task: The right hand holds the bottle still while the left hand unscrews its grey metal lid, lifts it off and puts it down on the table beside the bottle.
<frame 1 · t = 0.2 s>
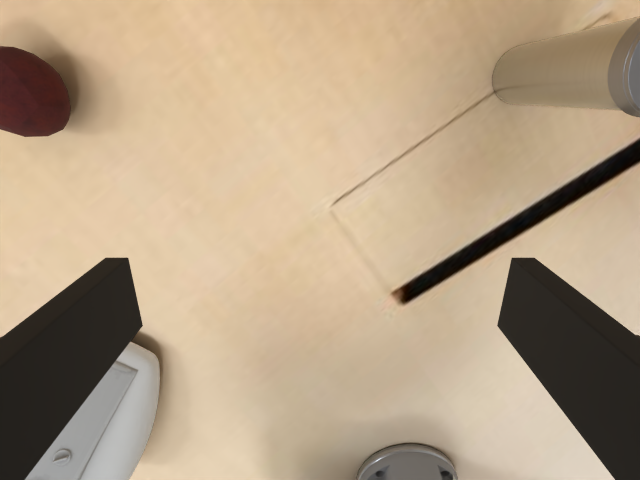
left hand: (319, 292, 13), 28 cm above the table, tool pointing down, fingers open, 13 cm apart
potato: (49, 95, 36), on the table
bottle: (519, 75, 36), on the table
projector: (106, 393, 51), on the table
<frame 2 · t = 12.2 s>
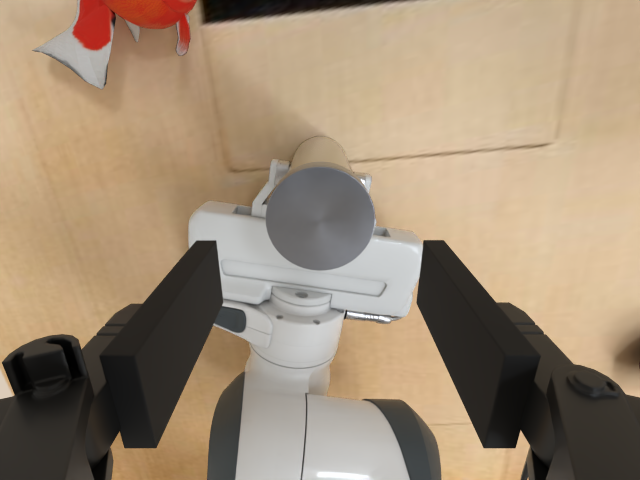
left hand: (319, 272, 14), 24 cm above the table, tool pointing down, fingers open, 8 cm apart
right hand: (321, 167, 30), fingers closed on bottle, 5 cm apart
fish: (137, 22, 32), on the table
bottle: (320, 163, 36), on the table, touching right hand
lid: (320, 219, 20), point 17 cm above the table, screwed on, not yet turned
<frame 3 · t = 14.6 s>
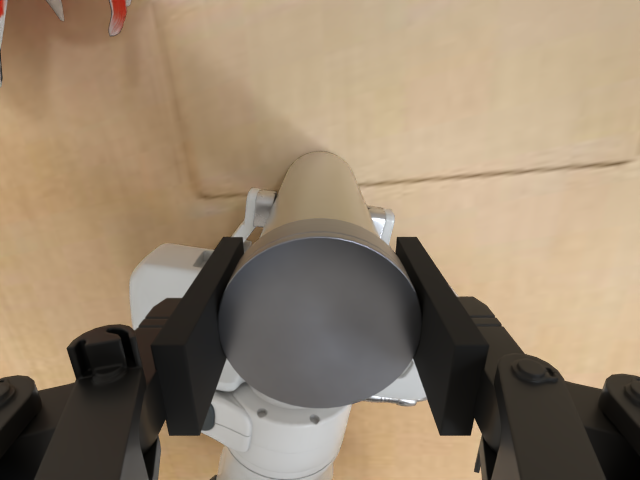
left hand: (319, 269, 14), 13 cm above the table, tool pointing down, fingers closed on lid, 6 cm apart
bottle: (319, 187, 27), on the table, touching right hand
lid: (319, 324, 11), point 17 cm above the table, screwed on, not yet turned, touching left hand
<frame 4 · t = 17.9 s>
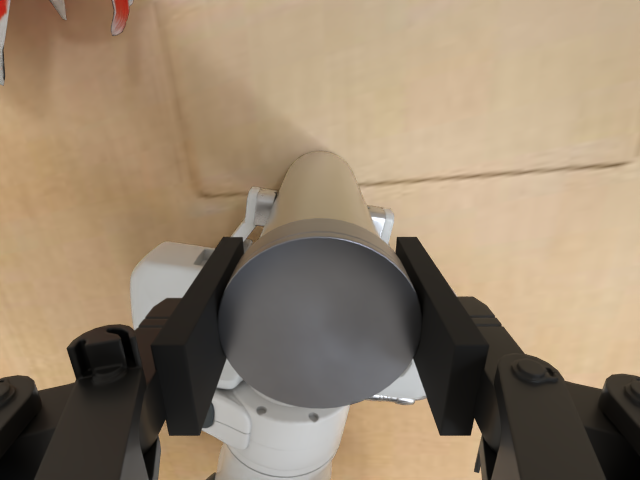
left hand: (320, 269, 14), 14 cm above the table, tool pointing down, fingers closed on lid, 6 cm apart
bottle: (319, 187, 27), on the table, touching right hand
lid: (319, 324, 11), point 17 cm above the table, turned 103° so far, risen 0.2 cm, still on its thread, touching left hand
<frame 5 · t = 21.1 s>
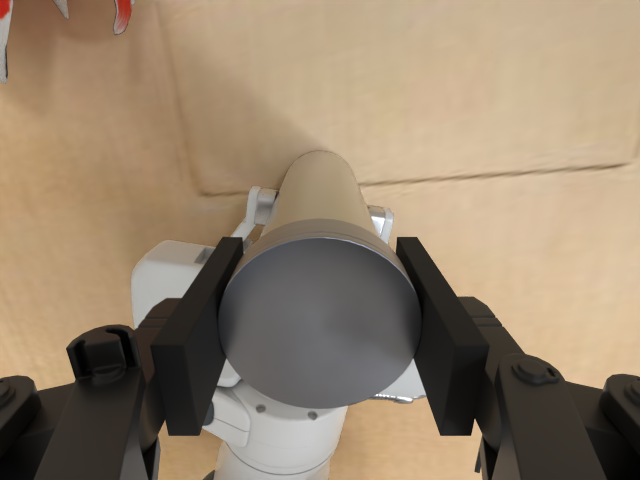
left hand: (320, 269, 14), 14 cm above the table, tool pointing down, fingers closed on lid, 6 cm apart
bottle: (319, 187, 27), on the table, touching right hand
lid: (319, 325, 11), point 18 cm above the table, turned 205° so far, risen 0.3 cm, still on its thread, touching left hand
when the left hand's fingers open (0 cm above the table, at t = 35.4 s): lid drops 3 cm, point 1 cm above the table.
when the right hand's fingers open (7 cm above the table, at t = 36.1 s): bottle stays where it is, on the table.
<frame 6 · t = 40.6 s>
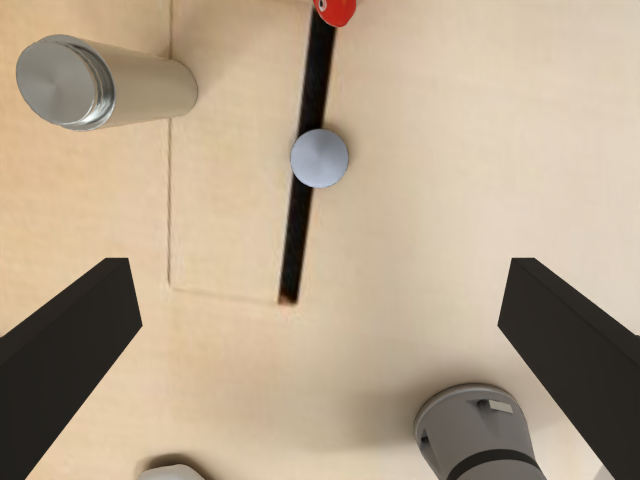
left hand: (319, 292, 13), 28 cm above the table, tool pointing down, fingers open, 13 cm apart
bottle: (170, 88, 36), on the table
lid: (319, 158, 38), point 1 cm above the table, off its thread
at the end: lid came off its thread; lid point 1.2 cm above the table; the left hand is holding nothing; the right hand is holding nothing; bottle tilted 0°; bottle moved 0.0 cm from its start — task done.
